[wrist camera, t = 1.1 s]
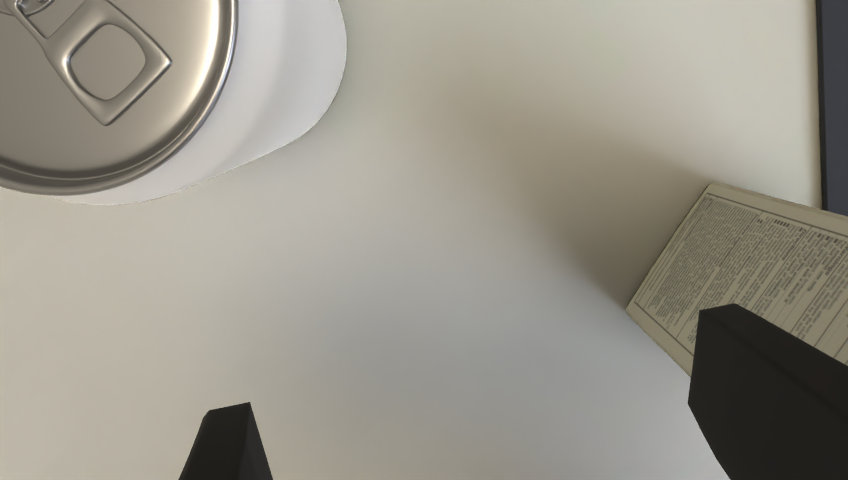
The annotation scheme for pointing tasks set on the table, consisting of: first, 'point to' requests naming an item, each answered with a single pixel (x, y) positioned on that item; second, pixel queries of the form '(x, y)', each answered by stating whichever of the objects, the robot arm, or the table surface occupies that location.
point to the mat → (833, 102)
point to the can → (157, 90)
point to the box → (749, 272)
